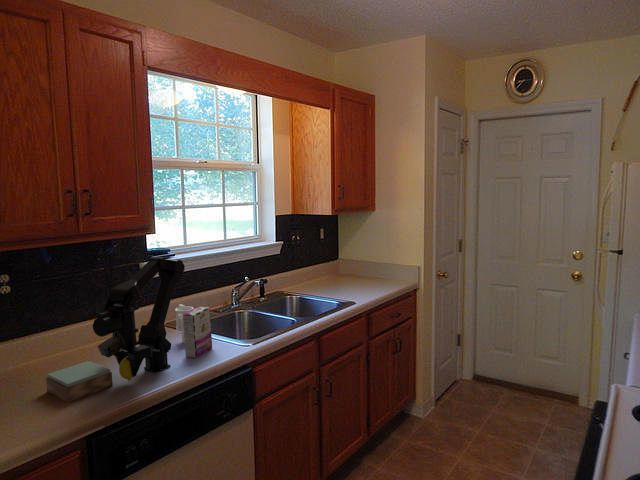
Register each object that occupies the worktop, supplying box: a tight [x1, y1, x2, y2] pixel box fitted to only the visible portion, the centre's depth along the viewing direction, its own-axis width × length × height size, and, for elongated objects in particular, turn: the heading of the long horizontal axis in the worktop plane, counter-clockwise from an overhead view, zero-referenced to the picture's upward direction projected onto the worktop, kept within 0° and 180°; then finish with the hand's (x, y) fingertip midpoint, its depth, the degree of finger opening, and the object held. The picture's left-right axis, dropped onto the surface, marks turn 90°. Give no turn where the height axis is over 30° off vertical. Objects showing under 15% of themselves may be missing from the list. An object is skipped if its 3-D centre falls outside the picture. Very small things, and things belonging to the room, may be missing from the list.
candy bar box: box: [183, 306, 213, 359], centre depth 177 cm, size 11×5×16 cm, turn 161°
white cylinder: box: [175, 303, 195, 344], centre depth 189 cm, size 7×7×15 cm
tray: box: [45, 371, 114, 404], centre depth 147 cm, size 14×13×4 cm
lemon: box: [118, 356, 136, 381], centre depth 150 cm, size 6×6×8 cm
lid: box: [46, 360, 111, 387], centre depth 147 cm, size 13×13×1 cm
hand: (128, 374), depth 150 cm, fingers closed on lemon, 5 cm apart
